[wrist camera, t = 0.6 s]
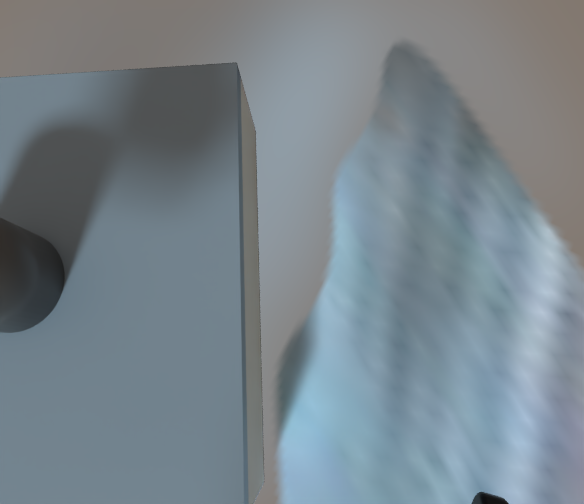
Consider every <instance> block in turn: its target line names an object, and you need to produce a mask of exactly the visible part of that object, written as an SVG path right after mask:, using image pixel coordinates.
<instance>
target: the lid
mask: <svg viewBox="0 0 584 504" xmlns="http://www.w3.org/2000/svg"><path fill="white" fill-rule="evenodd" d="M0 504H249V501H248V447H247V394H246V340H245V286H244V233H243V179H242V125H241V76H240V73H239V69H238V66H237V63H222V64H207V65H191V66H175V67H160V68H145V69H128V70H112V71H99V72H98V71H97V72H81V73H66V74H49V75H33V76H19V77H2V78H0Z"/></svg>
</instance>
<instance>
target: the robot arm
mask: <svg viewBox="0 0 584 504" xmlns="http://www.w3.org/2000/svg"><path fill="white" fill-rule="evenodd" d="M472 504H508V502H507V501H506V500H505V499H503V498H501V497H498V496H495V495H491V494H488V493H485V492H479V493H477V495H476V496H475V497H474V499H473V502H472Z"/></svg>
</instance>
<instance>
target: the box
mask: <svg viewBox="0 0 584 504" xmlns="http://www.w3.org/2000/svg"><path fill="white" fill-rule="evenodd" d="M241 125H242V179H243V233H244V286H245V340H246V394H247V447H248V501H249V504H254V502H255V500H256V498H257V496H258V494H259V492H260V490H261V488H262V485H263V484H264V451H263V411H262V372H261V333H260V331H261V330H260V290H259V251H258V250H259V249H258V208H257V169H256V168H257V167H256V131H255V127H254V124H253V120H252V116H251V113H250V109H249V105H248V102H247V98H246V94H245V91H244V87H243V84H242V80H241Z"/></svg>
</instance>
